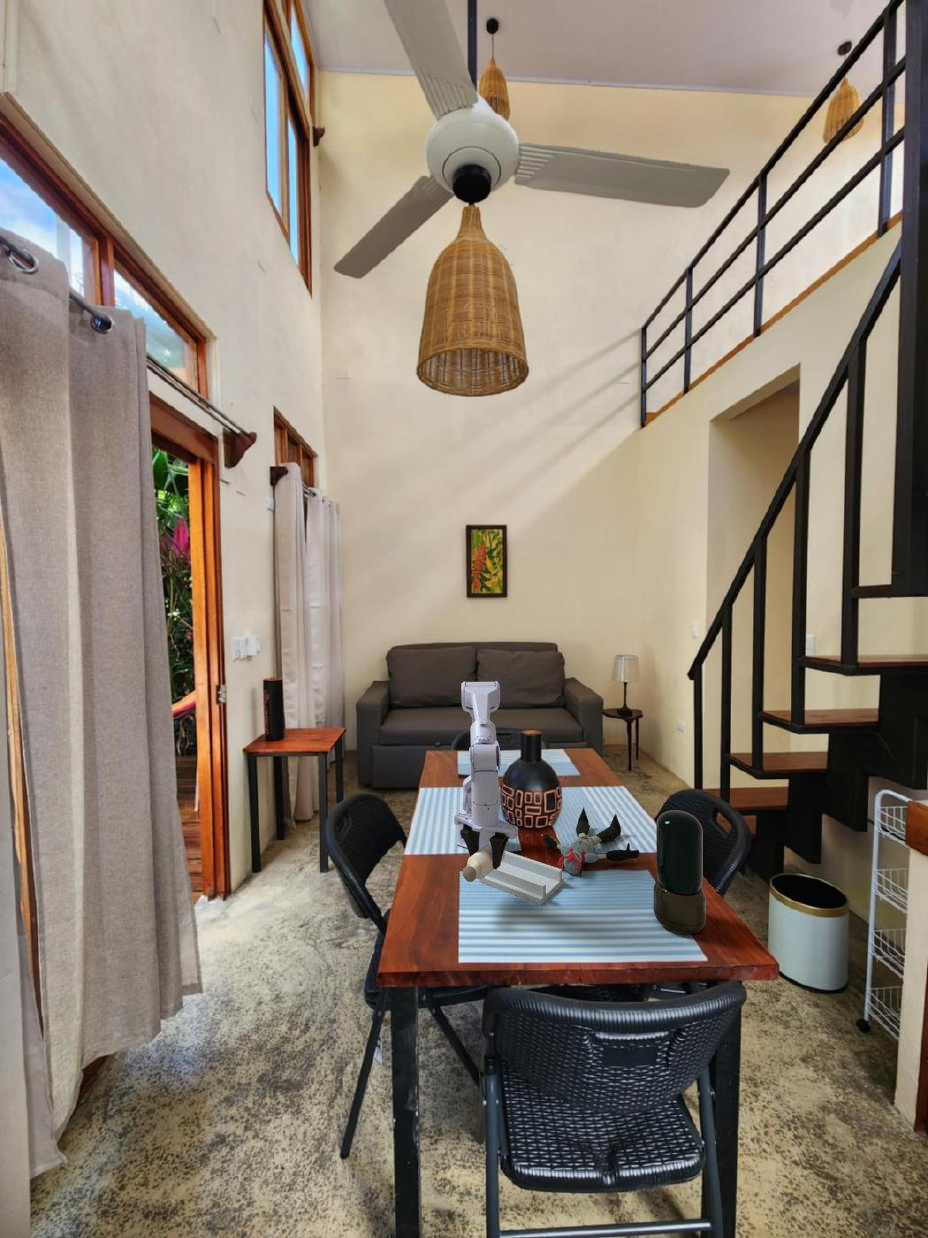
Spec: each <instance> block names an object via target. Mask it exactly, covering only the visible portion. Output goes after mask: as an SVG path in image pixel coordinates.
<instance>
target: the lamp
mask: <svg viewBox="0 0 928 1238" xmlns="http://www.w3.org/2000/svg"><path fill="white" fill-rule="evenodd" d="M703 833H704V832H703V827H702V824H701V823H700V821H699V820H698V819H697V817H696V816H694V815H693V814H691V813H689V812H687V811H683V810H678V809H677V810H676V809H675V810H674V809H671V810H667V811H665V812H662V813H661V814H660V815H659V817H658V818H657V820H656V834H655V835H656V841H655V842H656V844H655V845H656V846H655V847H656V850H655V851H656V864H655V865H656V877H657V879H656V881H655V882H654V885H653V914H654V916H655V919H656V920H657V922H658V923H659V924H660V925H661V926H662V927H665V929H668V931H672V932H675V933H678V934H683V935H691V934H693V935H694V934H696V933H699V932H700V931H702V930H703V929H704V928H705V926H706V921H707V896H706V894H705V891H704V889H703V887H702V884H703V879H704V877H703V876H704V875H703V874H704V872H703V871H704V868H703V866H704V865H703V863H704V862H703V860H704V859H703V858H704V857H703V855H704V854H703V853H704V852H703V851H704V847H703V844H704V843H703V842H704V841H703V839H704V838H703V837H704V835H703Z"/></svg>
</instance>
